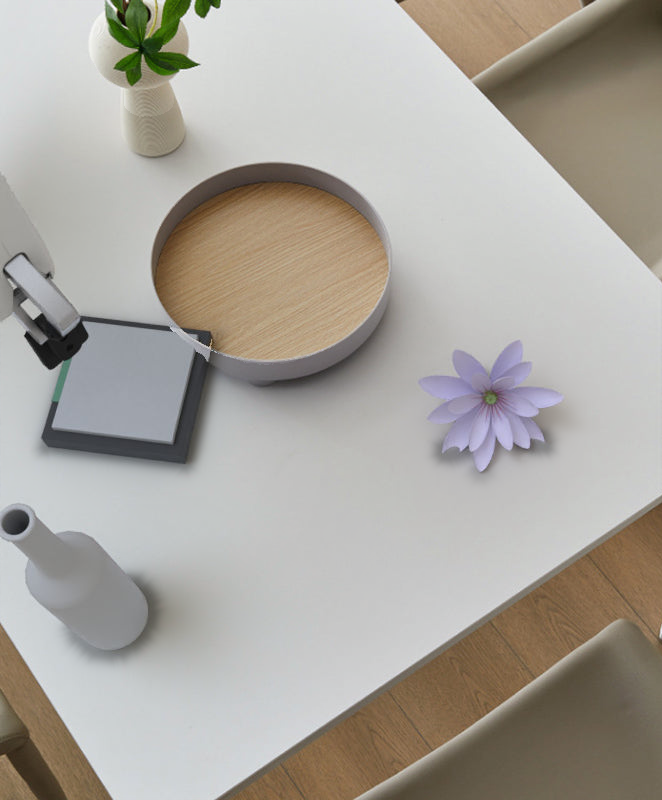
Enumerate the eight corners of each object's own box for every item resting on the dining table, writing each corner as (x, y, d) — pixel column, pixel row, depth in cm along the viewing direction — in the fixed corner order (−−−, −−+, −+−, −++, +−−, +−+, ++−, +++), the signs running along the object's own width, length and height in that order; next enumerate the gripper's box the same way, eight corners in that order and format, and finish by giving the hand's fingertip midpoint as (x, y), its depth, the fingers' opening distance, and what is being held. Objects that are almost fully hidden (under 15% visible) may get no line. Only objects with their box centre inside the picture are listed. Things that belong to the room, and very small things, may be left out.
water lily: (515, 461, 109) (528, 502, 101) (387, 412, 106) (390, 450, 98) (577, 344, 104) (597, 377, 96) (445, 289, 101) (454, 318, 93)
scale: (48, 448, 102) (38, 435, 99) (84, 327, 108) (75, 311, 105) (185, 465, 101) (179, 452, 98) (214, 342, 107) (209, 327, 104)
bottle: (102, 666, 93) (-4, 587, 68) (64, 610, 95) (-52, 513, 70) (163, 621, 95) (82, 528, 69) (125, 567, 97) (33, 457, 72)
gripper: (-278, 73, 49) (-119, 266, 65) (-53, 276, 45) (60, 431, 60) (-148, -11, 52) (-25, 194, 67) (78, 173, 47) (154, 347, 62)
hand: (15, 306), depth 64 cm, fingers open, 9 cm apart
